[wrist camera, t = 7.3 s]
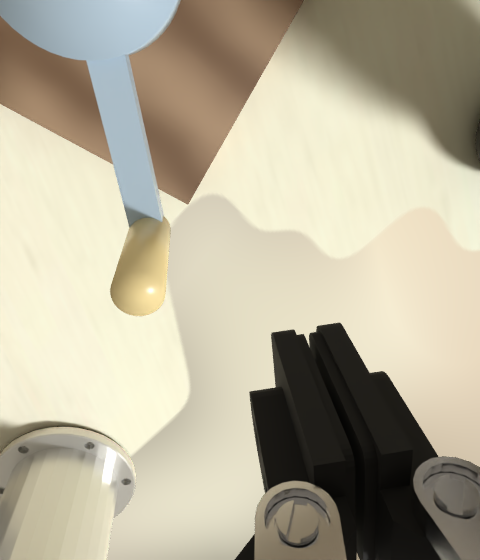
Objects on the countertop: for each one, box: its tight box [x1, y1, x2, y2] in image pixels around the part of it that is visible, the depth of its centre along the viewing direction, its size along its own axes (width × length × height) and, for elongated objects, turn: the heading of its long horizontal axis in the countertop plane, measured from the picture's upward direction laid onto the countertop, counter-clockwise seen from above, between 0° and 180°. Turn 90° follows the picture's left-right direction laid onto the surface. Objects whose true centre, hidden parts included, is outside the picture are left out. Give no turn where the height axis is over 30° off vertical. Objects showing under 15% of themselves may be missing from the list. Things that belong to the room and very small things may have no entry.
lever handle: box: [0, 0, 181, 316], centre depth 16 cm, size 15×7×9 cm, turn 8°
